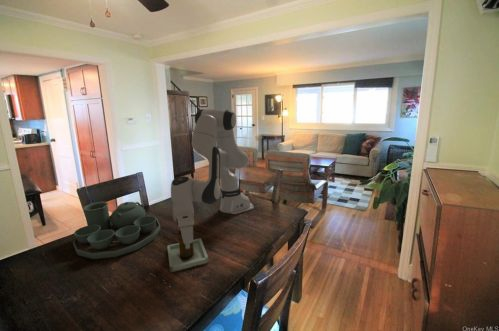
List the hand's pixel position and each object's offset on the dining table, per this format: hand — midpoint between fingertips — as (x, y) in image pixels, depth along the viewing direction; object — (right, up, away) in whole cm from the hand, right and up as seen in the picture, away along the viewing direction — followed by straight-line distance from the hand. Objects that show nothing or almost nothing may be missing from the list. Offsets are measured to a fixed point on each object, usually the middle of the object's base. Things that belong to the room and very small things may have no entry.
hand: (186, 242), depth 106 cm
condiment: (0, -6, +1) cm, 6 cm away
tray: (0, -7, +1) cm, 7 cm away
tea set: (-40, -4, +19) cm, 44 cm away
